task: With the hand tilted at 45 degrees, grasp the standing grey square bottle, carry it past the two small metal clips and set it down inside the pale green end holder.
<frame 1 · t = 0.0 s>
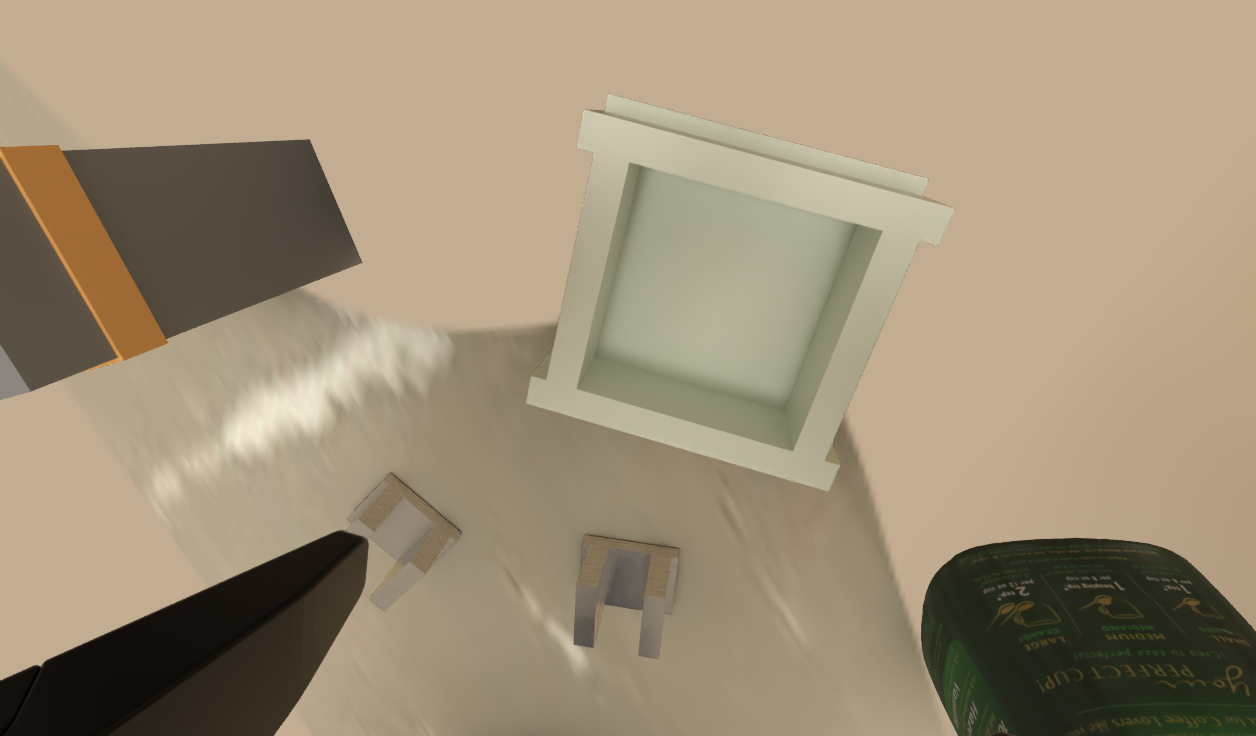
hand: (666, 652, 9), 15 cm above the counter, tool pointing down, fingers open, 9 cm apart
clip b: (629, 570, 27), on the counter
clip a: (407, 521, 27), on the counter
end holder: (718, 284, 21), on the counter
grey square bottle: (285, 219, 23), on the counter
coffee jar: (1043, 607, 24), on the counter
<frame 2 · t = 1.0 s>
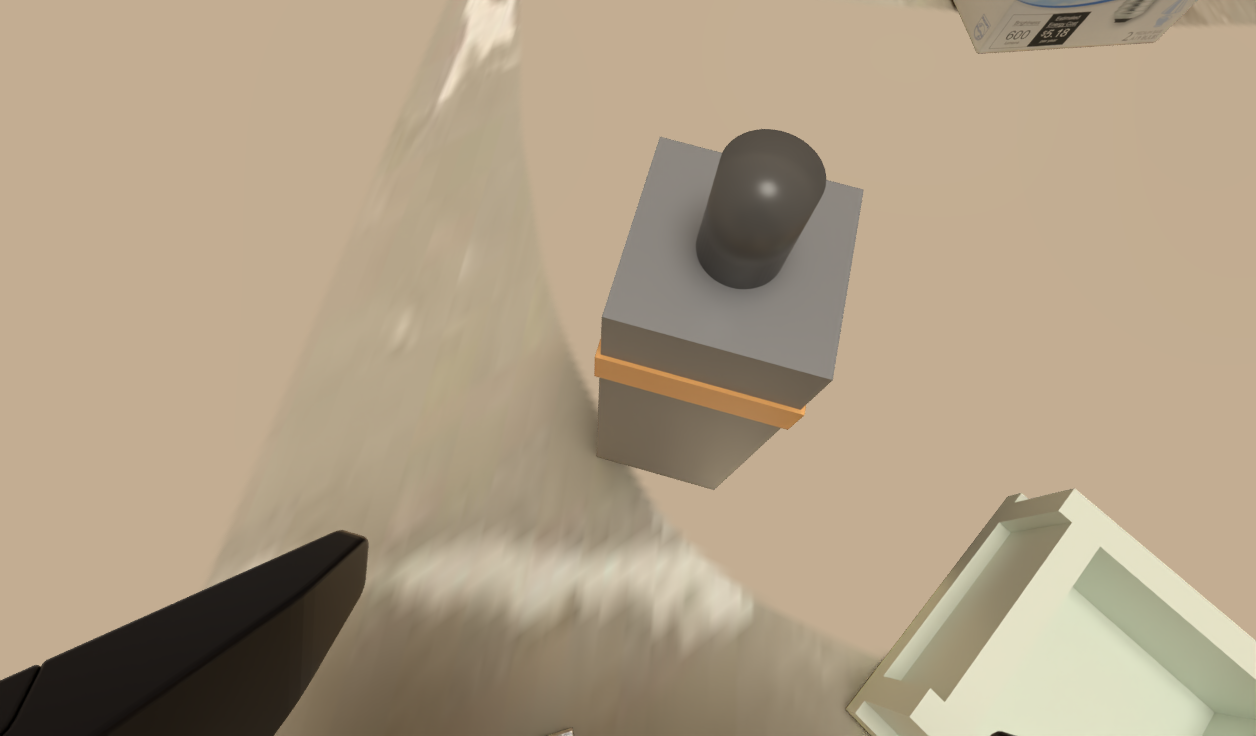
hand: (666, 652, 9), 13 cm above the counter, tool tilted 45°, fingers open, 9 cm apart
end holder: (1052, 708, 21), on the counter
light bulb box: (1042, 7, 33), on the counter
grey square bottle: (669, 416, 24), on the counter
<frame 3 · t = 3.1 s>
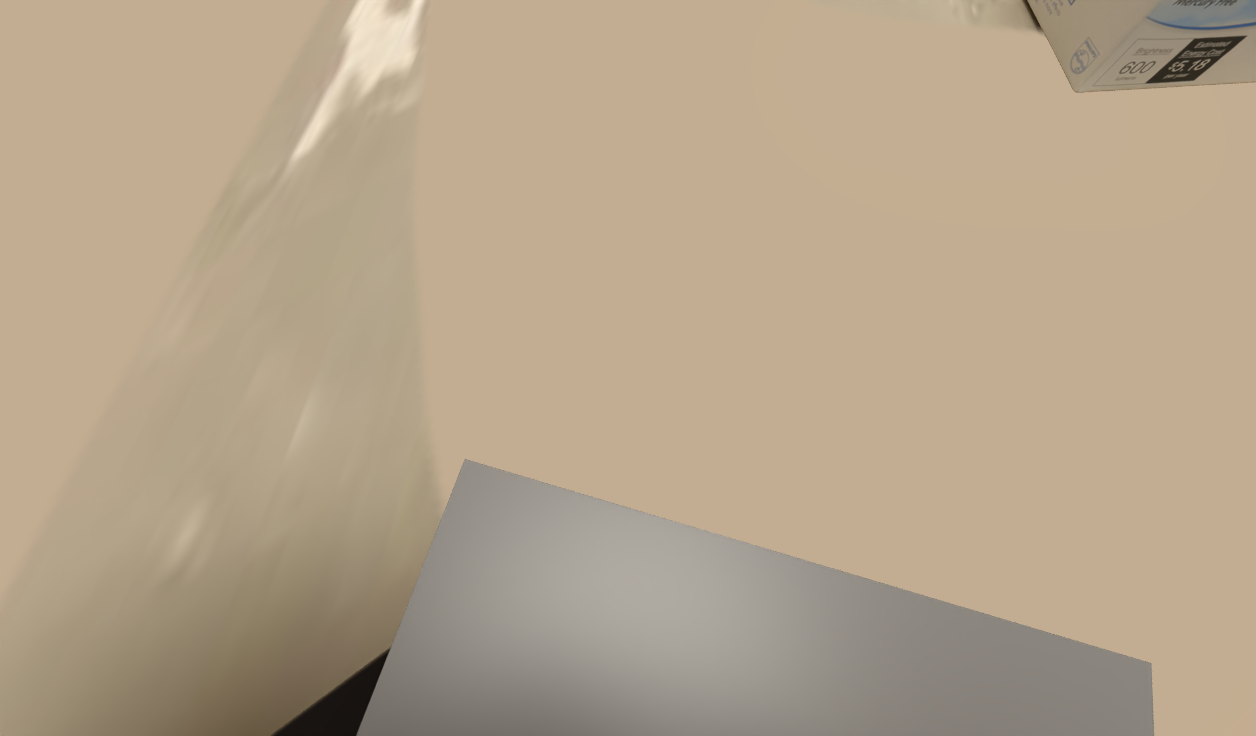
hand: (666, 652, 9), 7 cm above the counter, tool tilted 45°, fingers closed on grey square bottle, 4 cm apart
light bulb box: (1155, 28, 24), on the counter
grey square bottle: (617, 699, 14), on the counter, touching gripper
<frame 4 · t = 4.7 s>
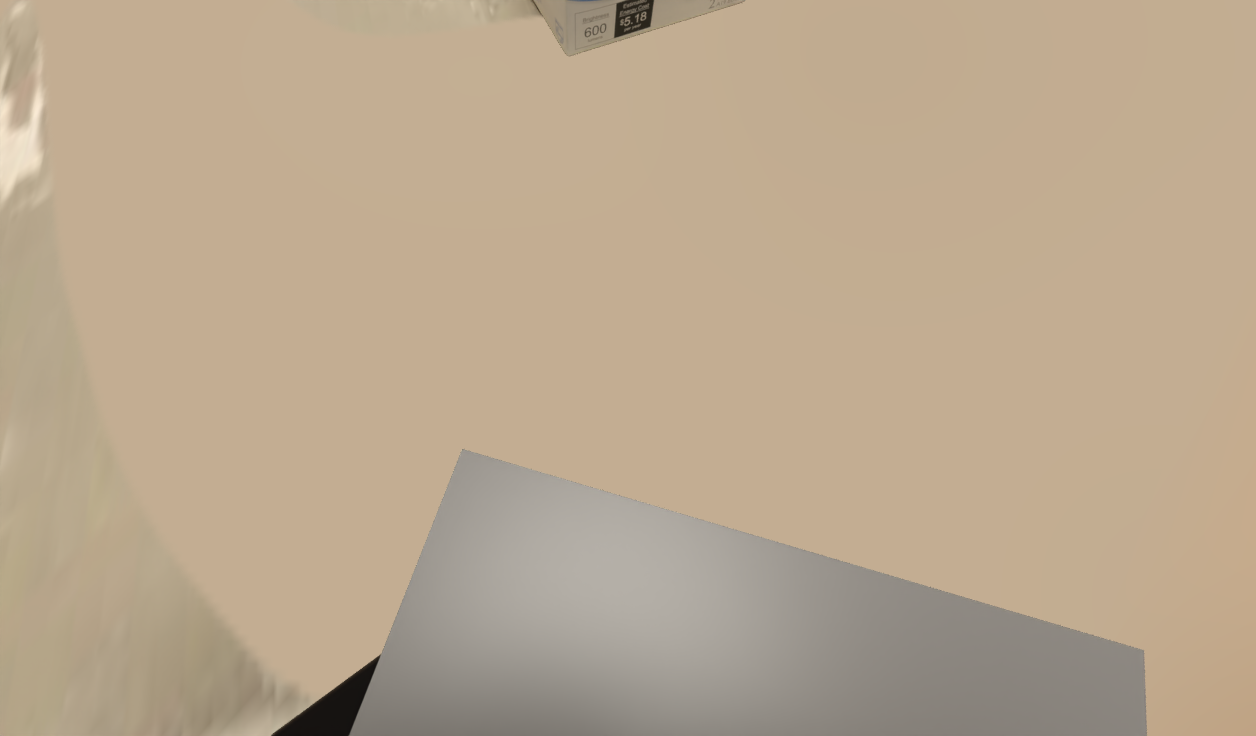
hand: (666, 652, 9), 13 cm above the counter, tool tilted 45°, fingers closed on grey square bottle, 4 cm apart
grey square bottle: (616, 696, 14), point 7 cm above the counter, touching gripper
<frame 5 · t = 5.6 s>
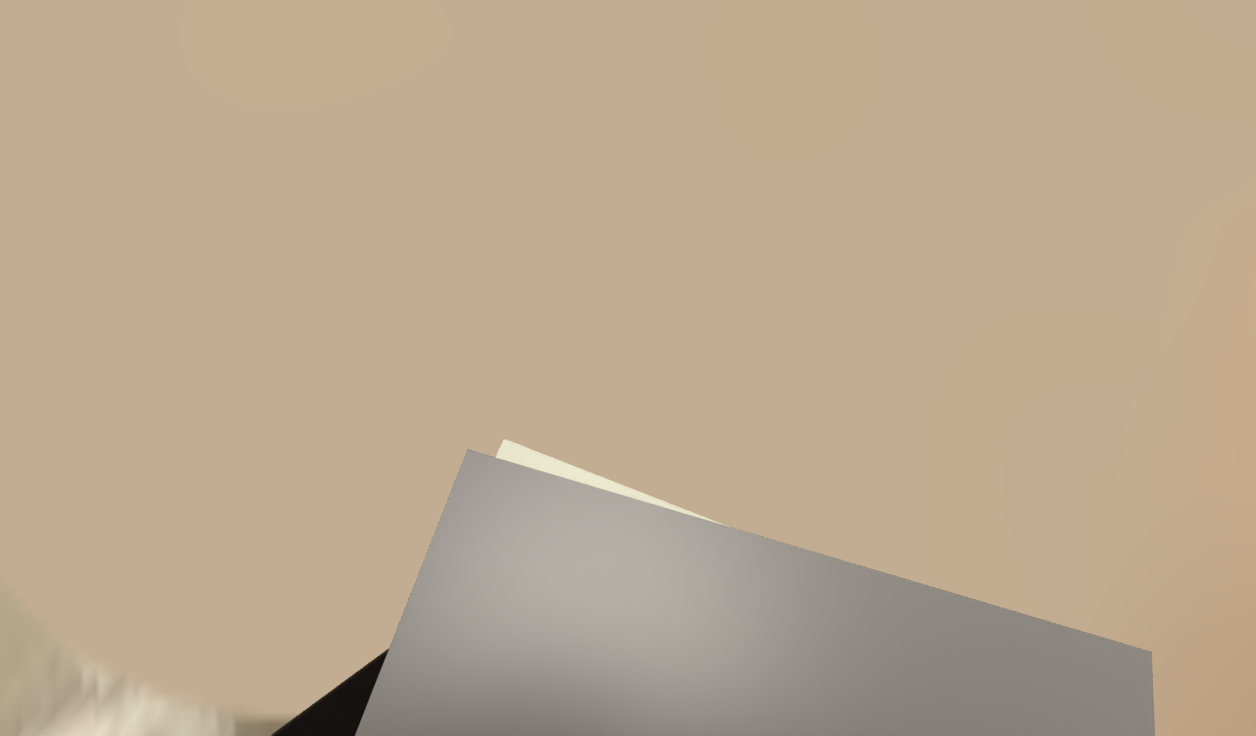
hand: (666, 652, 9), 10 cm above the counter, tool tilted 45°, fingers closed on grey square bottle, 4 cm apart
end holder: (613, 675, 18), on the counter
grey square bottle: (618, 696, 14), point 4 cm above the counter, touching gripper
when the fingers open (8 cm above the counter, at t = 6.4 s): grey square bottle stays where it is, resting on end holder.
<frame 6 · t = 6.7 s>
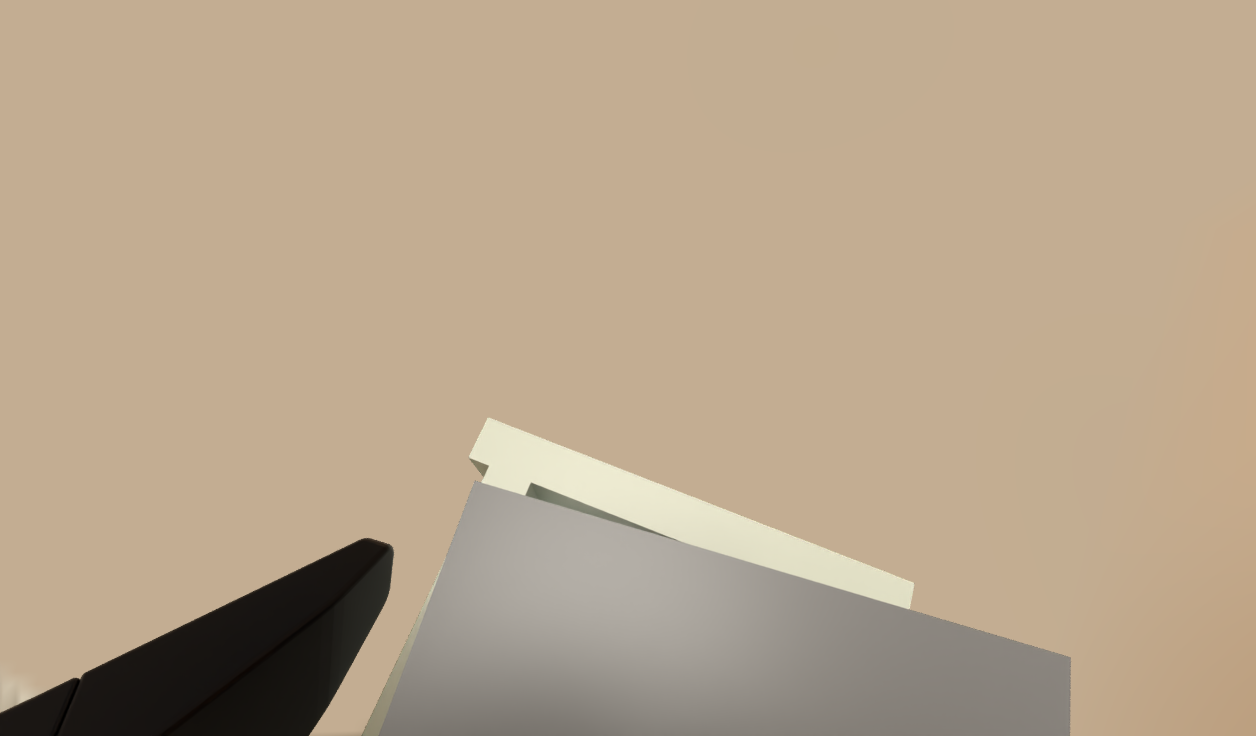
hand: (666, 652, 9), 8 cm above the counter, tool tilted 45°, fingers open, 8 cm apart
end holder: (614, 691, 16), on the counter
grey square bottle: (615, 695, 15), point 1 cm above the counter, touching end holder
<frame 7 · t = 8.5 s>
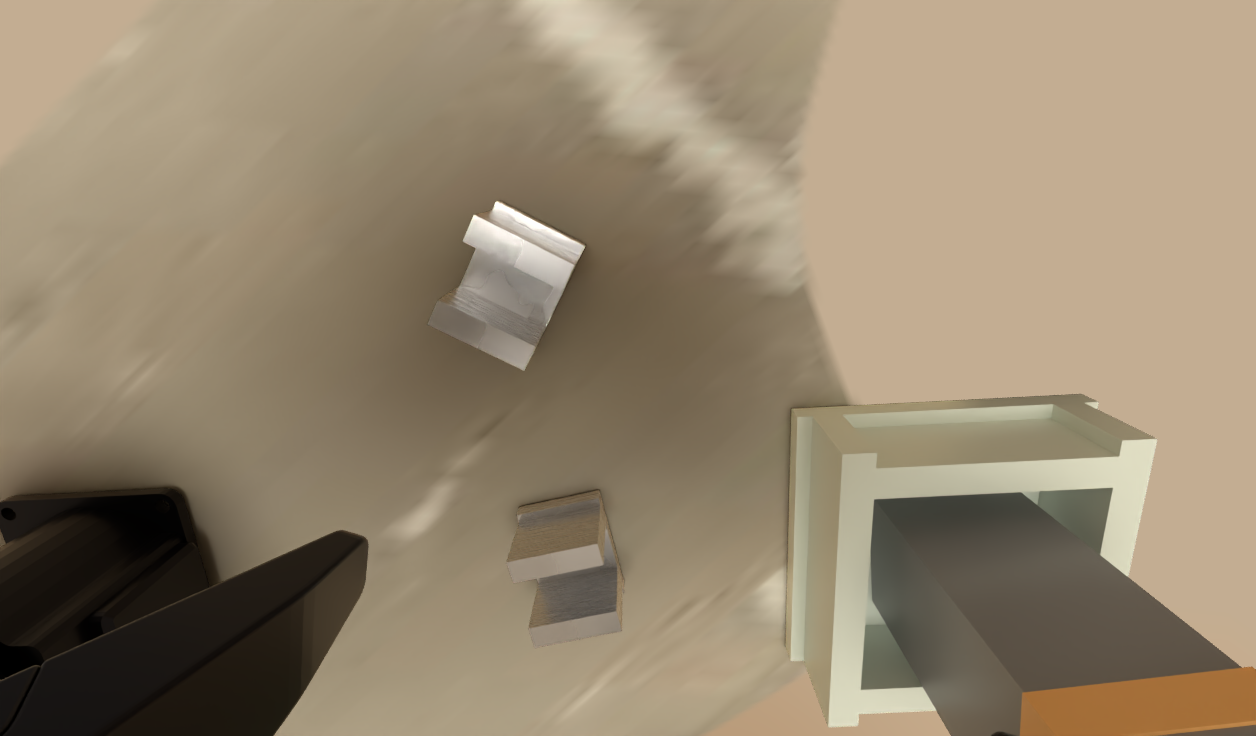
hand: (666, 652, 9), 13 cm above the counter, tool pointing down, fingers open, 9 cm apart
clip b: (572, 545, 23), on the counter
clip a: (517, 278, 20), on the counter
end holder: (923, 528, 23), on the counter
grey square bottle: (933, 539, 22), point 1 cm above the counter, touching end holder
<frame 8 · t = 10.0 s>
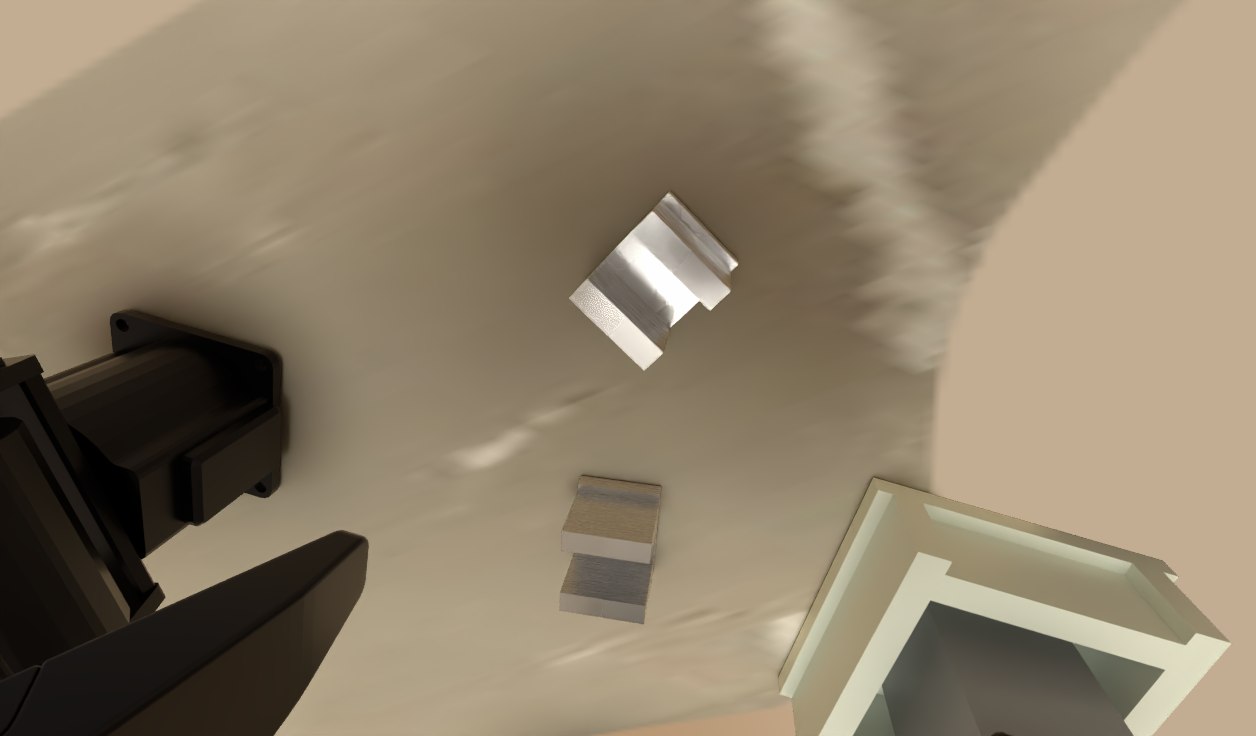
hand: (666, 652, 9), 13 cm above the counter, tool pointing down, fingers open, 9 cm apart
clip b: (618, 525, 24), on the counter
clip a: (659, 270, 20), on the counter
end holder: (952, 624, 23), on the counter
grey square bottle: (959, 640, 22), point 1 cm above the counter, touching end holder
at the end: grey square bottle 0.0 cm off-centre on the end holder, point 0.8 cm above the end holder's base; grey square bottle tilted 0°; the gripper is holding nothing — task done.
